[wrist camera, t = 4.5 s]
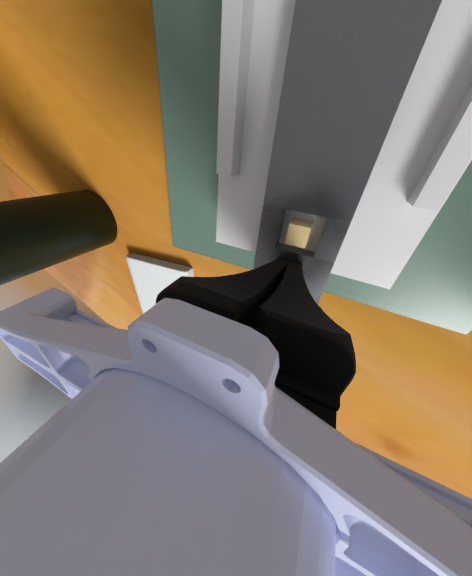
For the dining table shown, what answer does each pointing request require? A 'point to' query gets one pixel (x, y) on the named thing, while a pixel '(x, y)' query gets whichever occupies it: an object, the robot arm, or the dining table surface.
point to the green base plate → (258, 147)
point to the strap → (336, 117)
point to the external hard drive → (153, 277)
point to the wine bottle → (51, 231)
